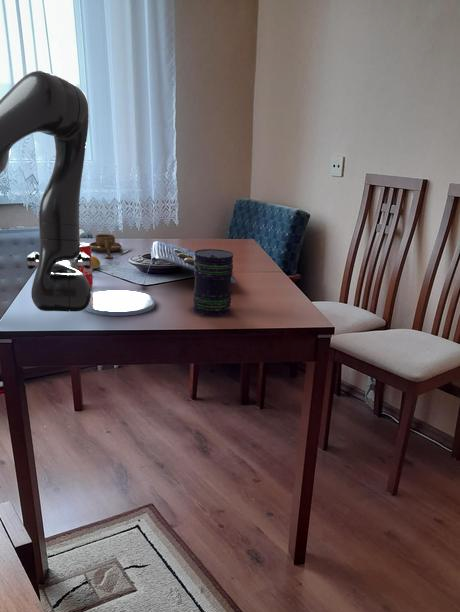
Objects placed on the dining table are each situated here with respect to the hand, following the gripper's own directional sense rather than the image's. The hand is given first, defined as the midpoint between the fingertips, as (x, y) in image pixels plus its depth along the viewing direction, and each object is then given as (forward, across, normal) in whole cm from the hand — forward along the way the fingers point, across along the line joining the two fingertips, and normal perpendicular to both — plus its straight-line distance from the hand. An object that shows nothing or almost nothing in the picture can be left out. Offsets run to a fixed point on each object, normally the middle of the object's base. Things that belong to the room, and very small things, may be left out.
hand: (58, 253), depth 131 cm
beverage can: (+22, -6, +15) cm, 27 cm away
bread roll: (+46, -8, +15) cm, 49 cm away
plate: (+4, -14, +14) cm, 20 cm away
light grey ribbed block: (+35, -39, +14) cm, 54 cm away
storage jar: (-4, -37, +14) cm, 40 cm away
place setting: (+71, -15, +15) cm, 74 cm away
